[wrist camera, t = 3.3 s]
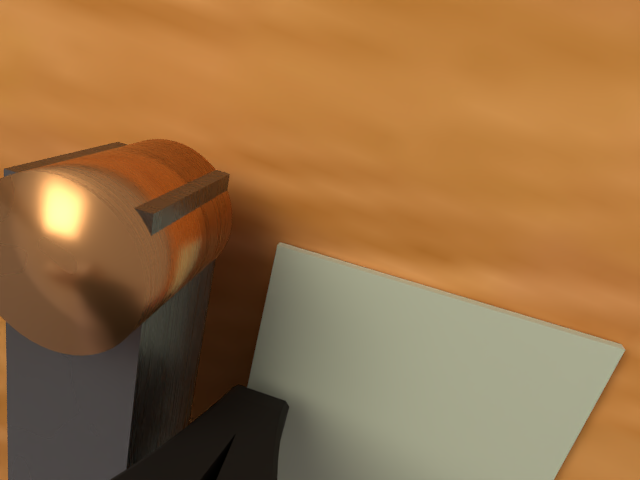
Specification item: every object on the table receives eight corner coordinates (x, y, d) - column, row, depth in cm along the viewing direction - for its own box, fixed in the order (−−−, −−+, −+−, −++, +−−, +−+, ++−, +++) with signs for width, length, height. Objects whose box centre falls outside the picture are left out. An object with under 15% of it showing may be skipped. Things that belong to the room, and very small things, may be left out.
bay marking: (454, 652, 13) (454, 660, 13) (212, 558, 14) (209, 565, 14) (621, 344, 9) (625, 349, 9) (279, 241, 10) (277, 245, 10)
